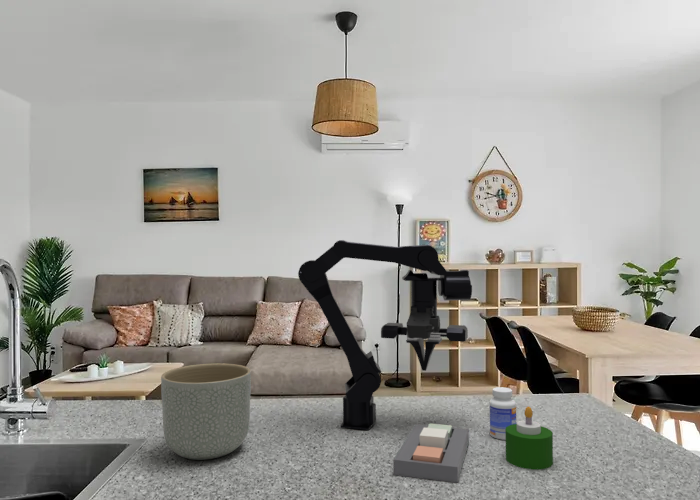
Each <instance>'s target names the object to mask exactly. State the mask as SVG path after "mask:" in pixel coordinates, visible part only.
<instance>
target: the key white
mask: <svg viewBox="0 0 700 500" xmlns="http://www.w3.org/2000/svg"><path fill="white" fill-rule="evenodd" d="M447 443H448V430H446V429H435V428H425V427H424V428H423V430H422V432H421V434H420V446H426V447H436V448H443V449H444V450H445V449H446V446H447Z"/></svg>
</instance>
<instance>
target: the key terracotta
mask: <svg viewBox="0 0 700 500" xmlns="http://www.w3.org/2000/svg"><path fill="white" fill-rule="evenodd" d="M413 460H416V461H425V462H433V463H442V461H443V448H436V447H426V446H417V448H416V450H415V452H414V454H413Z"/></svg>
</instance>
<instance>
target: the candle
mask: <svg viewBox="0 0 700 500" xmlns="http://www.w3.org/2000/svg"><path fill="white" fill-rule="evenodd" d="M533 414H534V413H533V409H532V408H531V407H530V406H527V407H525V410H524V417H525V420H524V419H523V420H518V421H516V424H512V425H509V426H507V427H506V429H505V433H506V440H505V460H506V462H507V463H509V464H510V465H512V466H515V467H518V468H521V469H524V470H525V469H527V470H532V471H533V470H537V471H538V470H546V469H549V468H551V467H552V466H553V464H554V455H553V454H554V453H553V452H554V451H553V450H554V447H553V445H554V444H553V442H554V440H553V439H554V438H553V431H552V430H551V429H549V428H548V427H545V426H542V424H541V423H539V422H537V421H534V420H533Z"/></svg>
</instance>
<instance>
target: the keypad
mask: <svg viewBox="0 0 700 500" xmlns="http://www.w3.org/2000/svg"><path fill="white" fill-rule="evenodd" d="M428 425H429V424H423V423H422V424H420V423H415V424H414V425H413V427H412V428H411V430H410V431H409V433H408V434H407V436H406V438H405V440H404V441H403V443H402V444H401V446H400V448H399V450H398V452H397V453H396V455H395V457H394V458H393V463H392V464H393V466H392V467H393V476H394V475H395V476H401V477H402V476H403V477H409V478H418V479H424V480H433V481H442V482H449V483H456V484H457V483H459V479H460V475H461V473H462V472H461V471H462V467H463V464H464V460H465V457H466V454H467V450H468V447H469V446H468V445H469V443H470V429H469V428H464V427H455V426H454V427H453V426H452V436H451V438H449V437H448V443H447V446H446V449H445V450H444V449H443V461H442V463H433V462H425V461H416V460H413V454H414V452H415V450H416V448H417V446H420V434H421V432H422V430H423V428H424V427H425V428H427V427H428Z"/></svg>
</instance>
